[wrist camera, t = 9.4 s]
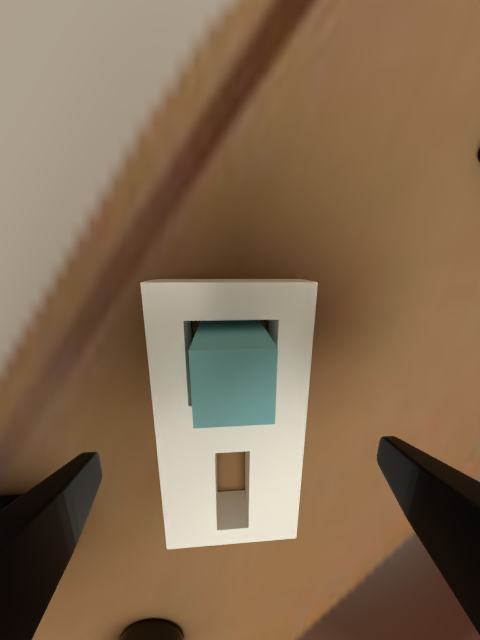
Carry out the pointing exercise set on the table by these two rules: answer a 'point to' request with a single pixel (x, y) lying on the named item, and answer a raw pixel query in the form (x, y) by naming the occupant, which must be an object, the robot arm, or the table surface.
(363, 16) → the table surface
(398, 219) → the table surface
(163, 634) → the supplement bottle
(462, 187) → the table surface
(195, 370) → the square peg
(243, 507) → the socket plate
